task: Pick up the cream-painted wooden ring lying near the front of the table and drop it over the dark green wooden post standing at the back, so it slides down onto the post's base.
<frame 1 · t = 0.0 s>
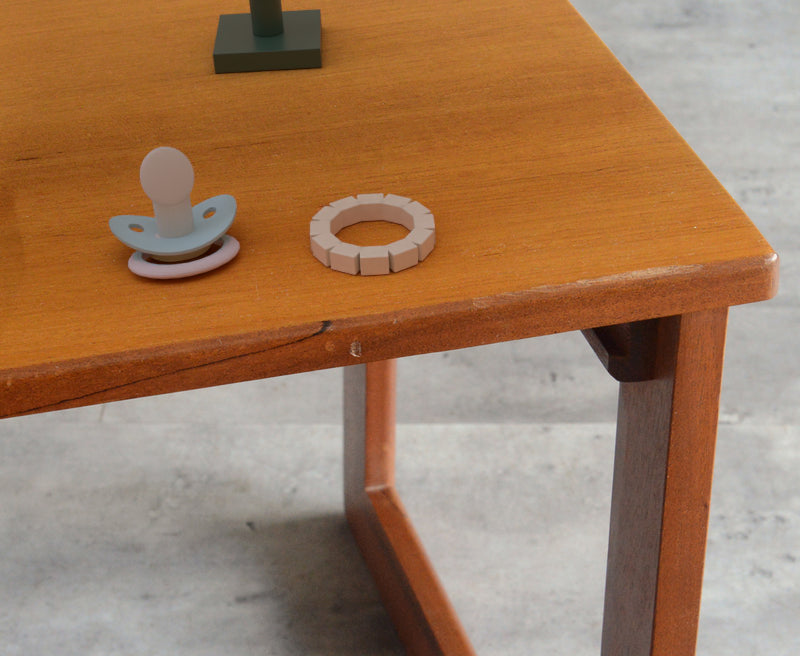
stand: (270, 49, 92), on the table
ring: (373, 241, 69), on the table
pacifier: (183, 258, 69), on the table
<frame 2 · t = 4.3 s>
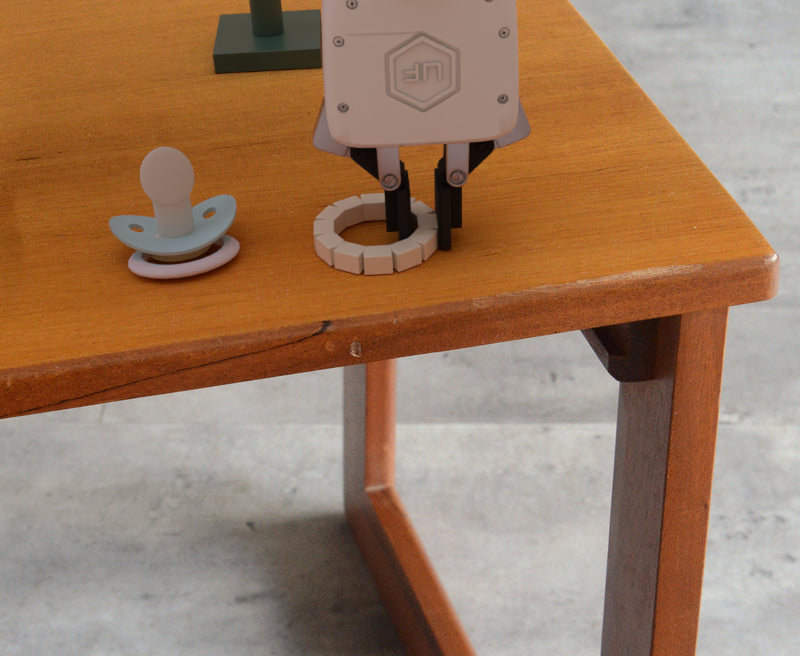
hand: (423, 236, 69), 0 cm above the table, tool pointing down, fingers closed on ring, 1 cm apart
ring: (376, 241, 69), on the table, touching gripper
everything else where it was.
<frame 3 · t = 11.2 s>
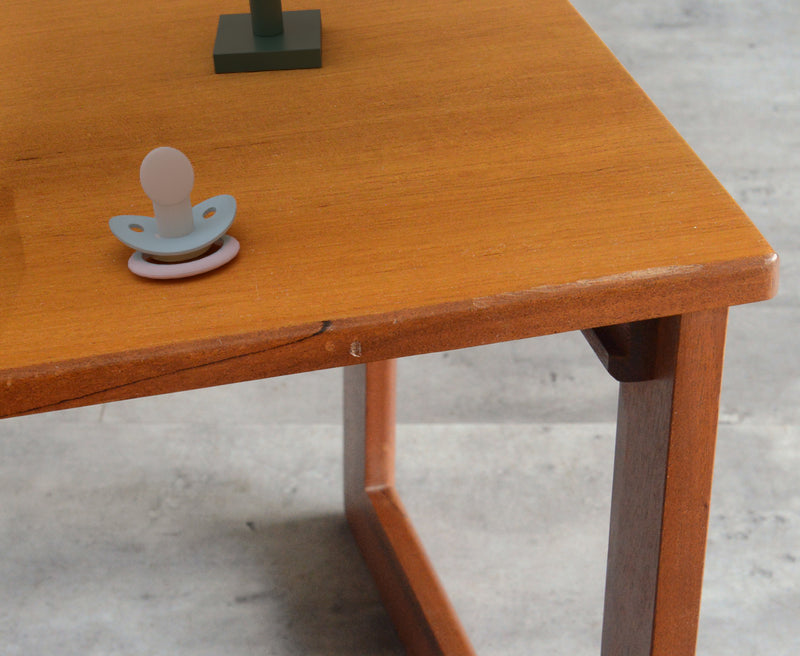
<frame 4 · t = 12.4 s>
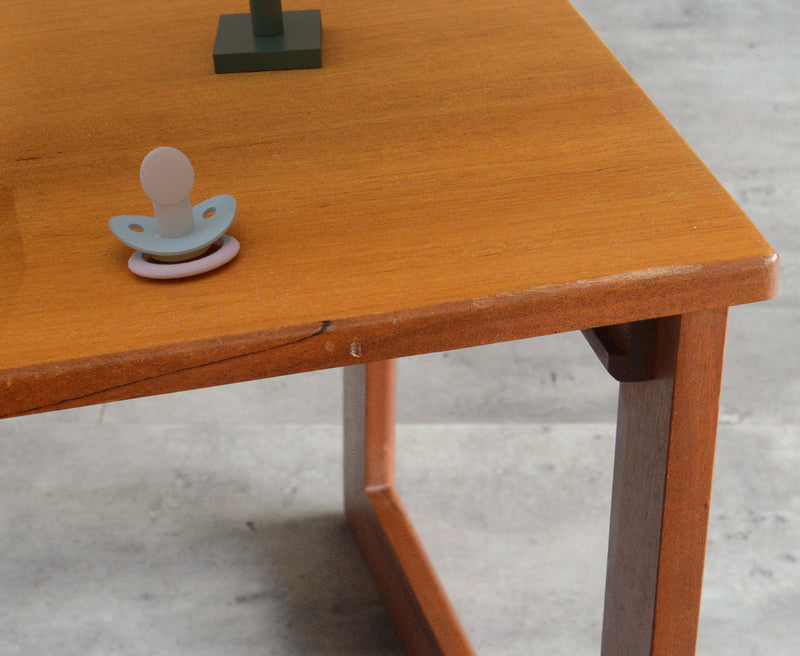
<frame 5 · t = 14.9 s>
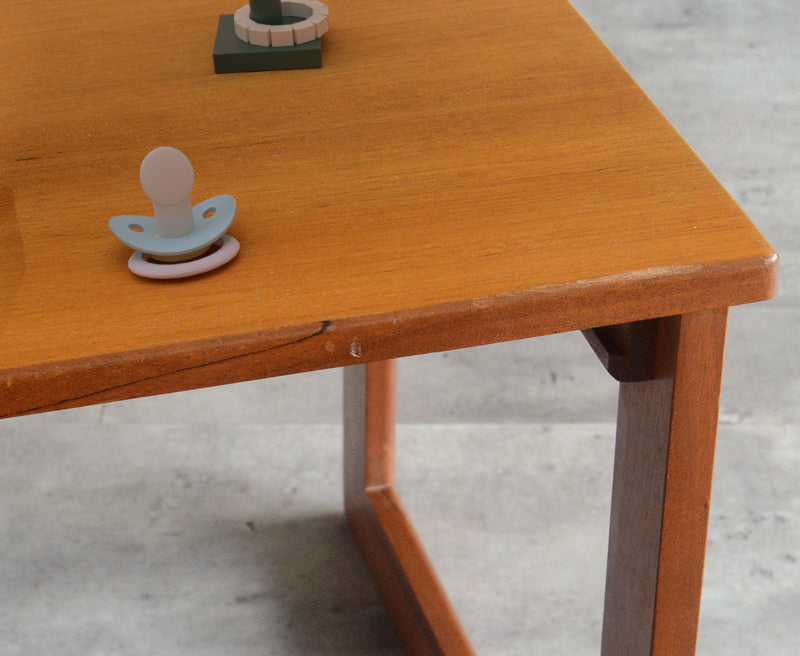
ring: (282, 28, 92), point 1 cm above the table, touching stand
everything else where it was.
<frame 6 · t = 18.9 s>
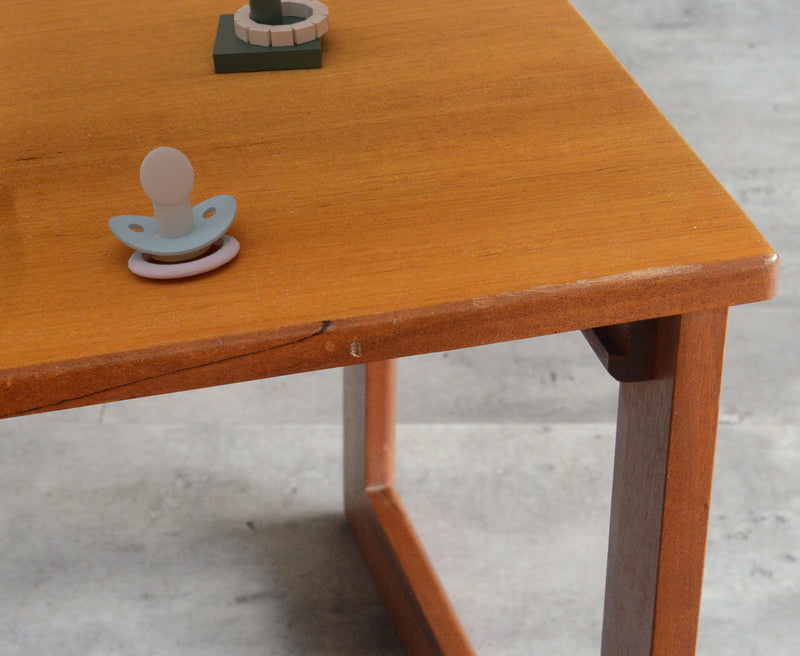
nothing on the table moved.
at the end: ring 1.1 cm off-centre on the stand, point 1.5 cm above the stand's base; the gripper is holding nothing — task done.
